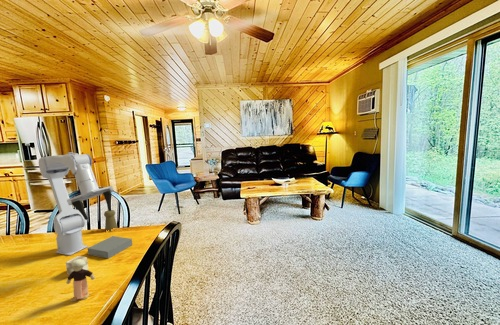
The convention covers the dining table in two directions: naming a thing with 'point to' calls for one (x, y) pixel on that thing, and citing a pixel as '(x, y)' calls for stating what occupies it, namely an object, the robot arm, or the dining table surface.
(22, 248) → the dining table surface
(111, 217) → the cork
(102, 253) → the base plinth
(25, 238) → the dining table surface
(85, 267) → the cream cube
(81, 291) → the grandmother figurine
